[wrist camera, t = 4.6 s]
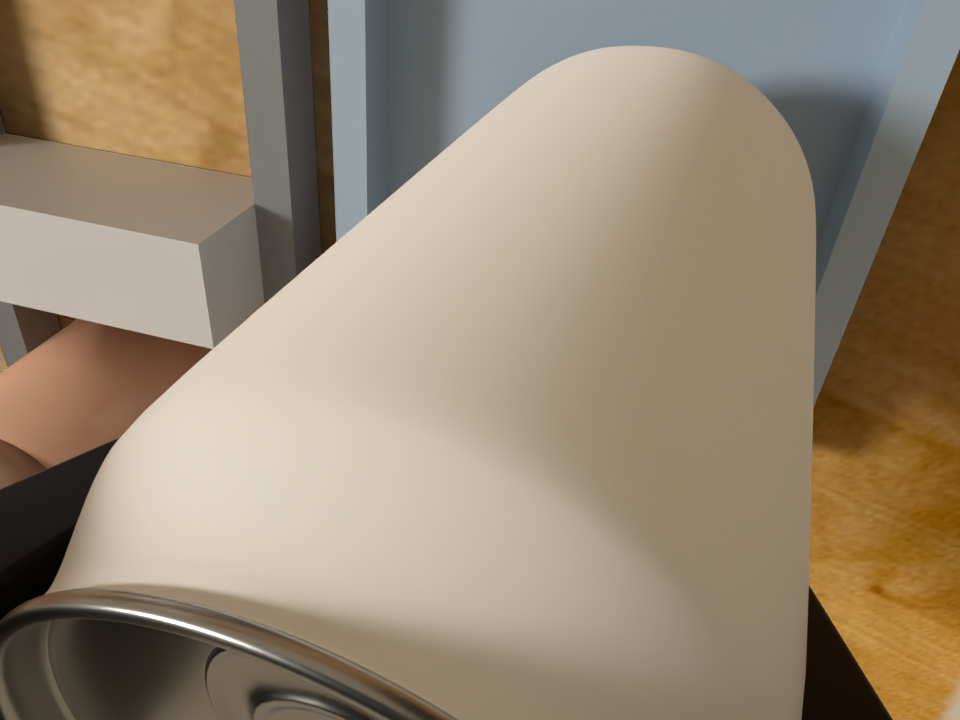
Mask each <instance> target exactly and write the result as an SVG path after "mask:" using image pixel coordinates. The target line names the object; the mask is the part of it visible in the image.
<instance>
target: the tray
mask: <svg viewBox="0 0 960 720" xmlns="http://www.w3.org/2000/svg"><path fill="white" fill-rule="evenodd" d="M328 25H329V52H330V80H331V107H332V135H333V162H334V190H335V217H336V242H337V241H338V240H339V239H340V238H342V237H343V236H344V235H345V234H346V233H348V232H349V231H350V230H351V229H352V228H353V227H355V226H356V225H357V224H358V223H359V222H360V221H362V220H363V219H364V218H365V217H366V216H367V215H369V214H370V213H371V212H372V211H373V210H374V209H376V208H377V207H378V206H379V205H380V204H381V203H383V202H384V201H385V200H386V199H387V198H388V197H390V196H391V195H392V194H393V193H394V192H395V191H397V190H398V189H399V188H400V187H401V186H403V185H404V184H405V183H406V182H407V181H408V180H410V179H411V178H412V177H413V176H414V175H415V174H417V173H418V172H419V171H420V170H421V169H423V168H424V167H425V166H426V165H427V164H428V163H430V162H431V161H432V160H433V159H434V158H435V157H437V156H438V155H439V154H440V153H441V152H443V151H444V150H445V149H446V148H447V147H448V146H450V145H451V144H452V143H453V142H454V141H456V140H457V139H458V138H459V137H460V136H461V135H463V134H464V133H465V132H466V131H467V130H469V129H470V128H471V127H472V126H473V125H475V124H476V123H477V122H478V121H479V120H480V119H482V118H483V117H484V116H485V115H486V114H488V113H489V112H490V111H491V110H492V109H494V108H495V107H496V106H497V105H498V104H500V103H501V102H502V101H503V100H505V99H506V98H507V97H508V96H509V95H511V94H512V93H513V92H514V91H516V90H517V89H518V88H519V87H521V86H522V85H523V84H525V83H526V82H527V81H529V80H530V79H531V78H533V77H534V76H536V75H537V74H539V73H540V72H542V71H543V70H545V69H547V68H549V67H551V66H552V65H554V64H556V63H558V62H560V61H562V60H565V59H567V58H569V57H572V56H575V55H577V54H580V53H583V52H587V51H591V50H595V49H600V48H606V47H615V46H654V47H664V48H672V49H678V50H683V51H687V52H691V53H695V54H698V55H701V56H704V57H707V58H710V59H712V60H715V61H717V62H719V63H721V64H724V65H725V66H727V67H729V68H731V69H732V70H734V71H735V72H737V73H738V74H740V75H741V76H742V77H744V78H745V79H746V80H748V81H749V82H750V83H751V84H752V85H753V86H754V87H756V88H757V89H758V90H759V91H760V92H761V93H762V94H763V95H764V96H765V97H766V98H767V99H768V100H769V101H770V102H771V103H772V104H773V105H774V107H775V108H776V109H777V110H778V111H779V113H780V114H781V115H782V117H783V118H784V119H785V121H786V122H787V124H788V125H789V127H790V128H791V130H792V132H793V133H794V135H795V137H796V139H797V141H798V143H799V145H800V147H801V149H802V151H803V154H804V156H805V159H806V162H807V165H808V168H809V172H810V176H811V180H812V185H813V191H814V197H815V211H816V296H815V350H814V398H813V408H814V405H815V403H816V400H817V398H818V395H819V393H820V390H821V388H822V385H823V383H824V381H825V378H826V376H827V373H828V371H829V368H830V366H831V363H832V361H833V359H834V356H835V354H836V351H837V349H838V346H839V344H840V341H841V339H842V337H843V334H844V332H845V329H846V327H847V324H848V322H849V319H850V317H851V314H852V312H853V310H854V307H855V305H856V302H857V300H858V297H859V295H860V292H861V290H862V288H863V285H864V283H865V280H866V278H867V275H868V273H869V270H870V268H871V266H872V263H873V261H874V258H875V256H876V253H877V251H878V248H879V246H880V243H881V241H882V239H883V236H884V234H885V231H886V229H887V226H888V224H889V221H890V219H891V217H892V214H893V212H894V209H895V207H896V204H897V202H898V199H899V197H900V194H901V192H902V190H903V187H904V185H905V182H906V180H907V177H908V175H909V172H910V170H911V168H912V165H913V163H914V160H915V158H916V155H917V153H918V150H919V148H920V146H921V143H922V141H923V138H924V136H925V133H926V131H927V128H928V126H929V123H930V121H931V119H932V116H933V114H934V111H935V109H936V106H937V104H938V101H939V99H940V97H941V94H942V92H943V89H944V87H945V84H946V82H947V79H948V77H949V74H950V72H951V70H952V67H953V65H954V62H955V60H956V57H957V55H958V52H959V50H960V0H328Z"/></svg>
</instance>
